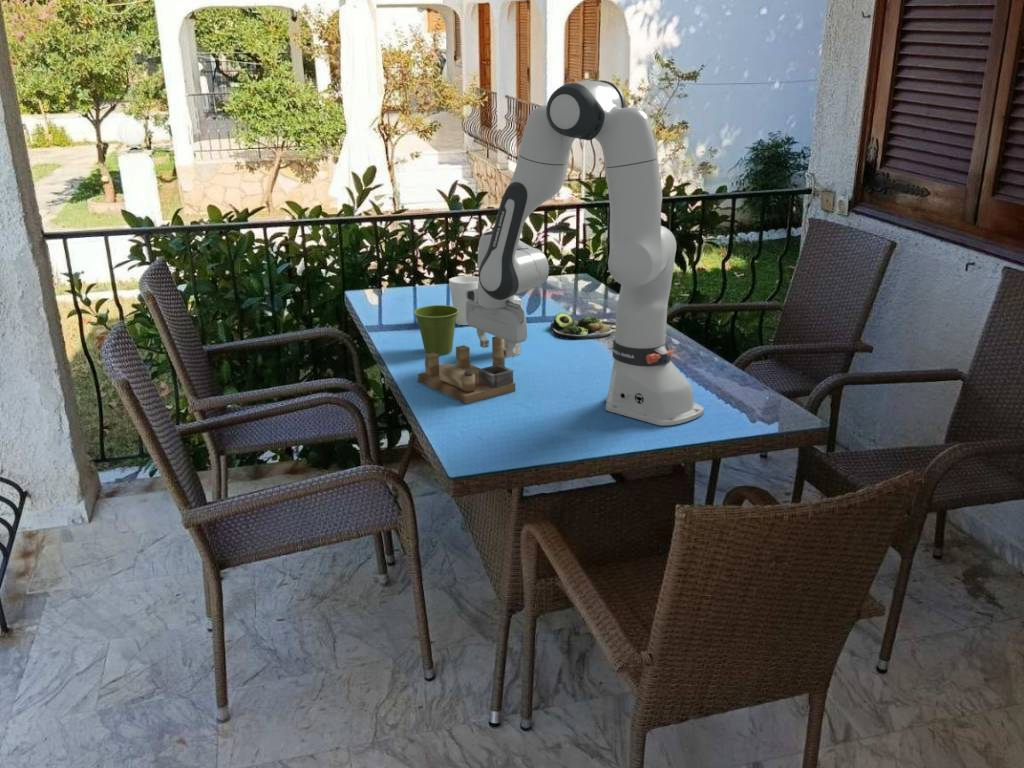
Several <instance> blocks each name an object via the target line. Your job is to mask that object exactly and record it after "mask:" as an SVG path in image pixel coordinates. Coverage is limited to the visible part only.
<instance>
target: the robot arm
mask: <svg viewBox="0 0 1024 768" xmlns="http://www.w3.org/2000/svg"><path fill="white" fill-rule="evenodd" d="M522 133H523V134H522V137H521V141H520V146H519V152H518V157H517V162H516V164H515V165H516V166H515V168H514V172H513V175H512V177H511V180H510V182H509V185H508V186H507V187H506V189H505V190H504V192H503V195H502V198H501V201H500V204H499V208H498V211H497V215H496V219H495V222H494V227H493V229H492V230H491V231H490V230H489V231H486V232H484V233H482V234H481V236H480V238H479V242H478V247H477V249H478V250H477V269H478V277H479V281H478V288H476V289H471V290H467V291H466V293H465V296H466V299H468V300H467V302H466V321H467V323H468V325H469V327H471V328H474V329H476V334H477V337H478V338H479V346H480V348H483V349H486V348H489V347H490V340H489V339H488V337H487V334H489V335H492V336H493V337H495V336H497V337H499V338H502V339H504V340H506V344H507V347H506V349H503V355H504V356H505V358H512V357H514V356H513V349H514V347H515V345H516V343H520V344H521V343H524V342H526V341H527V338H528V325H527V324H528V323H527V317H526V314H525V313H526V312H525V311H524V309H522V308H521V306H520V305H519V304H515V295H518V294H521V293H524V292H527V291H529V290H532V289H535V288H539V287H541V286H542V285H544V284H545V283H546V281H547V280H548V278H549V276H550V275H549V274H550V262H549V260H548V258H547V256H546V254H545V253H544V251H542V250H541V249H539V248H537V247H533V246H531V245H530V244H527V243H525V242H524V241H521V240H520V238H521V234H522V231H523V228H524V224H525V223H526V221H527V219H528V217H529V216H530V215H531V214H532V213H533V212H534V211H535V210H536V209H537V208H539V207H540V206H541V205H542V204H544V203H546V202H547V201H549V200H551V199H552V198H553V197H555V196H556V195H557V194H558V193H559V192H560V190H561V189H562V187H563V185H564V182H565V180H566V177H567V173H568V166H569V161H570V155H571V149H572V145H573V143H574V141H575V140H576V139H580V140H584V141H592V140H594V139H595V140H596V141H597V142H598V143H599V144H600V147H601V150H602V151H601V152H602V154H603V164H604V171H605V177H606V186H607V191H608V198H609V255H608V259H607V260H608V261H607V265H608V266H607V268H608V271H609V274H610V276H611V277H612V279H613V280H614V282H617V284H620V288H619V289H620V290H619V293H618V299H617V301H616V307H615V322H616V325H615V329H614V330H615V331H614V332H615V333H614V339H613V341H612V348H611V350H612V357H613V365H612V369H611V370H612V371H611V375H610V382H609V388H608V392H607V396H606V398H605V402H606V404H605V410H606V411H608V412H610V413H614V414H617V415H621V416H625V417H628V418H631V419H632V418H633V419H636V420H639V421H643V422H647V423H649V424H653V425H656V426H661V427H665V426H673V425H674V426H675V425H679V424H683V423H687V422H690V421H692V420H695V419H697V418H699V417H700V416H702V415H704V413H705V409H704V407H703V406H702V405H700V404H699V403H696V402H694V391H693V386H692V384H691V382H690V381H689V380H688V379H687V378H686V377H685V376H684V374H682V373H681V371H680V370H679V369H678V367H677V366H676V365H675V364H674V363H673V361H672V356H673V355H675V353H674V352H675V349H671V350H670V349H669V345H668V342H667V339H666V336H667V319H668V318H667V317H668V307H669V306H668V304H669V298H670V293H671V290H672V288H671V287H672V281H673V275H674V267H675V260H676V259H675V258H676V254H677V253H676V252H677V240H676V237H675V235H674V234H673V232H672V231H671V230H670V229H668V228H667V227H666V226H663V225H662V219H661V218H662V204H663V187H662V181H661V174H660V173H661V172H660V167H659V166H660V165H659V158H658V149H657V145H656V141H655V140H656V139H655V136H654V132H653V129H652V125H651V122H650V120H649V117H648V115H647V113H646V112H644V110H641V109H640V108H638V107H637V108H636V107H629V106H627V101H626V96H625V94H624V93H623V91H622V89H621V88H620V87H619V86H617V85H616V84H614V83H613V82H610V81H607V80H601V79H600V80H590V79H589V80H588V79H584V80H579V81H575V82H569V83H565V84H563V85H561V86H559V87H558V88H557V89H556V90H554V91H553V92H552V93H551V95H550V96H549V98H548V101H547V103H546V104H545V105H540V106H538V107H536V108H534V109H533V110H531V111H530V113H529V115H528V118H527V120H526V124H525V126H524V130H523V132H522ZM486 333H487V334H486Z"/></svg>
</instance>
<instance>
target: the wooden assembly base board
mask: <svg viewBox="0 0 1024 768" xmlns="http://www.w3.org/2000/svg"><path fill="white" fill-rule="evenodd" d="M439 355H440V354H436V353H434V352H432V353H428V354H427V353H424V369H425V370H424V372H420V373H418V374H417V379H418V380H417V382H418V383H421V384H423V385H424V386H427V387H428V388H431V389H433V390H435V391H436V392H440V393H441V394H443V395H445V394H446V395H445V396H447V395H448V396H447V397H449V396H450V397H449V398H451V397H452V398H451V399H453V398H454V400H455V401H458V400H459V401H458V402H460V401H461V402H460V403H462V402H463V404H464V403H465V404H464V405H466V404H467V405H470V404H469V403H471V404H474V403H478V402H481V400H482V401H485V400H489V399H492V398H496V397H499V396H498V395H500V396H503V395H507V394H510V392H511V393H514V392H516V382H514V370H513V369H511V368H508V367H506V366H505V367H504V366H501V365H497V366H496V365H494V366H493V365H491V366H487V367H482V368H480V367H478V366H476V365H473V364H471V352H470V347H469V346H467V345H464V344H462V345H459V346H455V361H456V362H455V364H452V365H453V366H456V367H458V368H461V369H463V370H465V371H472V373H474V374H475V390H474V391H470V392H467V391H463V390H462V389H460V388H458V387H456V386H453V385H451V384H449V383H447V382H445V381H442V380H440V377H439V365H440V356H439ZM513 391H514V392H513ZM502 394H503V395H502ZM495 396H496V397H495ZM488 398H489V399H488ZM477 401H478V402H477ZM473 402H474V403H473Z"/></svg>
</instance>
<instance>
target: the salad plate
mask: <svg viewBox="0 0 1024 768" xmlns="http://www.w3.org/2000/svg"><path fill="white" fill-rule="evenodd" d="M597 317H598V316H594V317H593V316H591V317H590V316H588V315H587V316H586V317H582V318H581V319H579V318H573V317H572V316H571V315H570V314H569V313H566V312H558V313H557V314H555V316H554V320H553V321H552V322H550V329H551V332H552V331H553V332H552V333H553V334H555V335H554V336H556V337H558V338H560V337H562V338H561V339H565V338H568V340H583V339H582V338H588V339H596V337H597V338H603V337H607V336H609V335H610V334H612V333H613V332H614V331H613V329H612V328H611V327H613V326H616V321H614V322H613V321H606V320H602V319H603V318H602V317H601V318H599V319H598V318H597ZM596 331H599V332H598V333H597V332H596ZM589 332H591V333H597V334H590V333H589ZM600 332H601V333H600ZM587 333H588V334H587Z"/></svg>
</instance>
